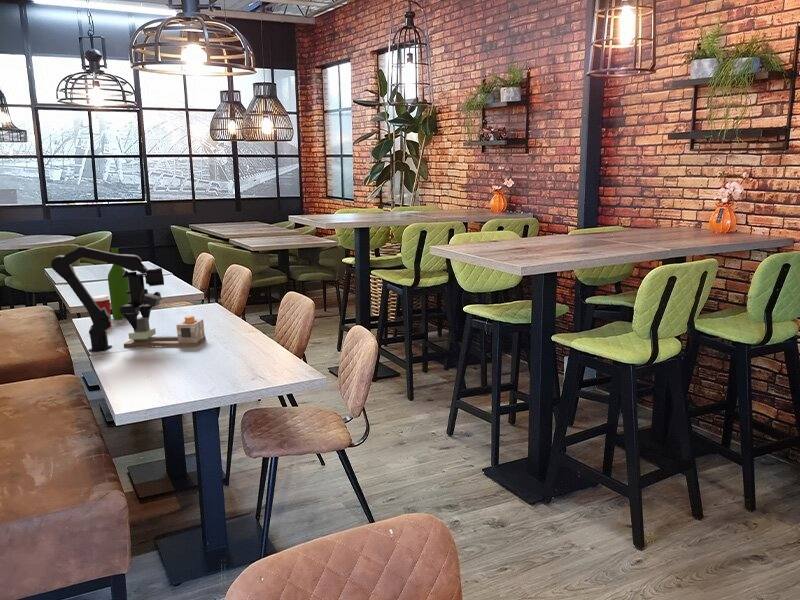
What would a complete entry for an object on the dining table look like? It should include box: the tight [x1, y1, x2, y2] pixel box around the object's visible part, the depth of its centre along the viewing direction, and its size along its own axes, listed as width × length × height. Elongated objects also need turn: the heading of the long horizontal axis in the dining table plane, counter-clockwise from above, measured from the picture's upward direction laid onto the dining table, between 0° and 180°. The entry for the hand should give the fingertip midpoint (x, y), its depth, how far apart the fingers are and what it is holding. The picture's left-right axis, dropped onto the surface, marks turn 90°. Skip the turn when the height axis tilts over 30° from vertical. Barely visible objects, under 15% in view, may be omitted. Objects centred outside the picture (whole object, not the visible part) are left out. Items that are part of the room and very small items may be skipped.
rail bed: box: [123, 318, 207, 348], centre depth 263 cm, size 10×29×8 cm, turn 84°
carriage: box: [127, 316, 157, 340], centre depth 263 cm, size 8×7×7 cm
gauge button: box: [184, 315, 195, 324], centre depth 261 cm, size 4×4×5 cm
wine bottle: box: [107, 247, 130, 320], centre depth 312 cm, size 9×9×32 cm
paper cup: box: [91, 294, 112, 329], centre depth 294 cm, size 8×8×14 cm
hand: (141, 326), depth 263 cm, fingers open, 9 cm apart
